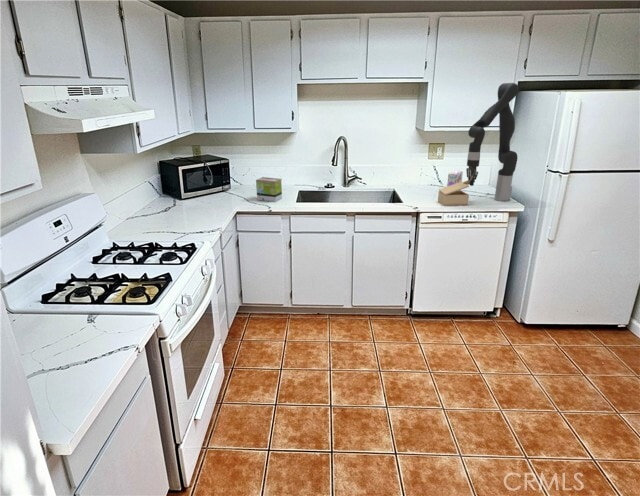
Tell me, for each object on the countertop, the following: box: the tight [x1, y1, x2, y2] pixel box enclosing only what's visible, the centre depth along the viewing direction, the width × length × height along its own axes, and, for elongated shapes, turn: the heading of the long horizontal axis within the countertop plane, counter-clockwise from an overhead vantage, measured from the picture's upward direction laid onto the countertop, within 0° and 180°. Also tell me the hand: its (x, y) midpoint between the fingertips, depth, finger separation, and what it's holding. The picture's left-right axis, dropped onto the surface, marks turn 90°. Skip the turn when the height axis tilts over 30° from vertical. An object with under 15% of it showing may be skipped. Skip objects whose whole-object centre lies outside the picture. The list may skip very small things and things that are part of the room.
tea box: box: [255, 176, 283, 203], centre depth 285 cm, size 15×10×15 cm
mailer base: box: [437, 190, 470, 207], centre depth 274 cm, size 16×12×7 cm
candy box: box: [446, 170, 464, 191], centre depth 293 cm, size 14×6×16 cm, turn 143°
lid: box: [438, 179, 476, 195], centre depth 271 cm, size 22×12×2 cm, turn 93°
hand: (470, 184), depth 271 cm, fingers closed on lid, 3 cm apart
